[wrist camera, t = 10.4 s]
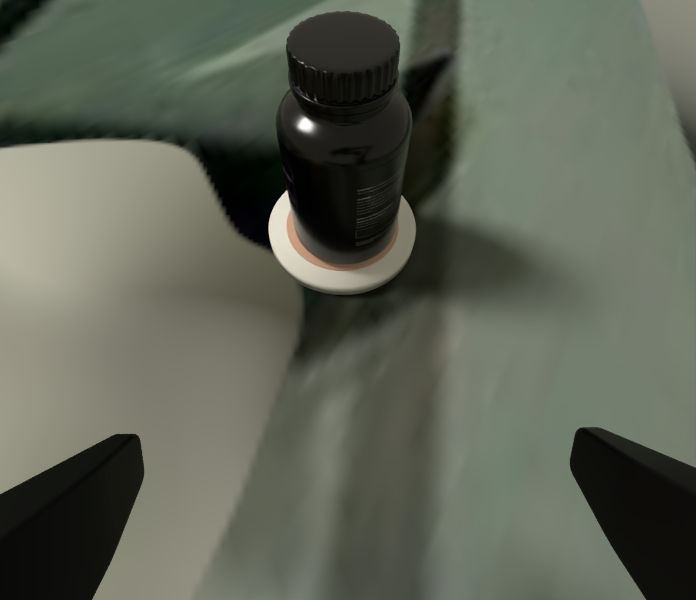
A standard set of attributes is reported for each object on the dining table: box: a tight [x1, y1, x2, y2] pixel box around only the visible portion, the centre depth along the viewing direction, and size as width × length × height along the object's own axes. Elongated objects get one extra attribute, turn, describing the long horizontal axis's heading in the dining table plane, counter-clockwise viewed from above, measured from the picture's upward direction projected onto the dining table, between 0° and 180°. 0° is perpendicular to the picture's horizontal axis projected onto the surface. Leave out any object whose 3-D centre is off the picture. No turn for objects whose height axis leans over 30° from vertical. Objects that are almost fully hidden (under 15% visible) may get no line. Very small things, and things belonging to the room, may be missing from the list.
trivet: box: [269, 191, 416, 295], centre depth 28 cm, size 10×10×1 cm
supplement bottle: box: [276, 11, 412, 264], centre depth 22 cm, size 7×7×12 cm
